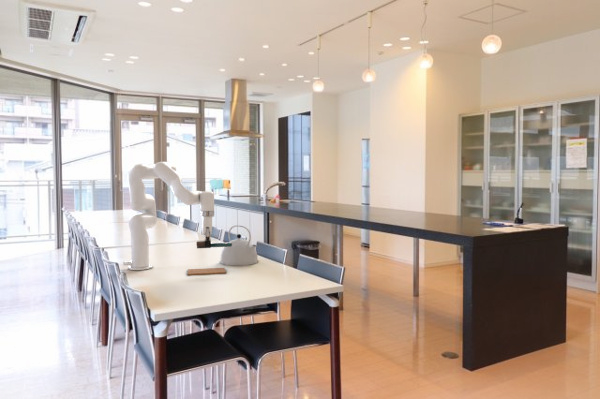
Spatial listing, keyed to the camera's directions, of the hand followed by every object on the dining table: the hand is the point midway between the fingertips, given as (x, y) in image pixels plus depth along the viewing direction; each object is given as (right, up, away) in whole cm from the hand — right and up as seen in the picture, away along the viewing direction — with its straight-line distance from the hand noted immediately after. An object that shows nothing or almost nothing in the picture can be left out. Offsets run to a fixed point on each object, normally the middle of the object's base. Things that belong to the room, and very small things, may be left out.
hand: (207, 246), depth 250 cm
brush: (+4, 0, +1) cm, 4 cm away
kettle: (+14, -13, +31) cm, 37 cm away
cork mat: (-1, -14, +2) cm, 14 cm away
